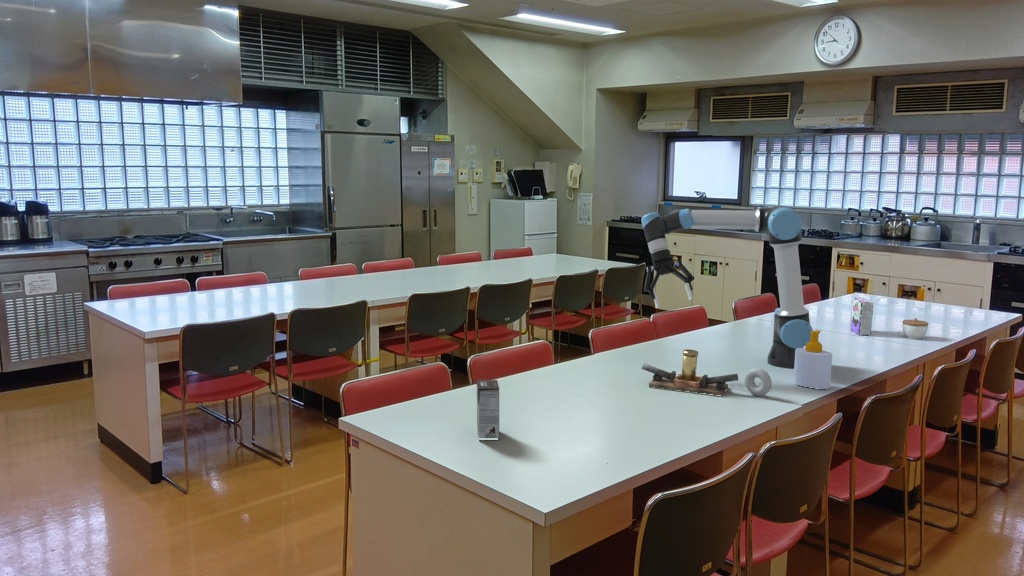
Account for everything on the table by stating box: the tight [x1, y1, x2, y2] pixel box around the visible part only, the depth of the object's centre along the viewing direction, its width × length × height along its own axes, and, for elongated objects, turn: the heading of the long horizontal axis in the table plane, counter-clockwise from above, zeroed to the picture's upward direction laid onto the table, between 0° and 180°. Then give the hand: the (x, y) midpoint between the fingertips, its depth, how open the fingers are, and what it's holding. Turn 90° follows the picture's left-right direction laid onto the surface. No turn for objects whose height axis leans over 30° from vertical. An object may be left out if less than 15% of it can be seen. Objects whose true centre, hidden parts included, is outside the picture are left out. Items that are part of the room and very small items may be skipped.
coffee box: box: [476, 379, 500, 439], centre depth 223 cm, size 9×6×16 cm
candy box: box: [849, 297, 875, 337], centre depth 362 cm, size 14×6×16 cm, turn 172°
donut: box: [744, 367, 773, 397], centre depth 262 cm, size 10×4×10 cm, turn 41°
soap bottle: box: [793, 329, 833, 390], centre depth 273 cm, size 13×8×20 cm, turn 47°
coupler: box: [681, 348, 699, 382], centre depth 271 cm, size 5×5×12 cm
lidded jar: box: [901, 317, 929, 340], centre depth 351 cm, size 11×11×9 cm
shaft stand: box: [641, 362, 739, 397], centre depth 272 cm, size 35×12×7 cm, turn 63°
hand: (674, 303), depth 289 cm, fingers open, 13 cm apart
